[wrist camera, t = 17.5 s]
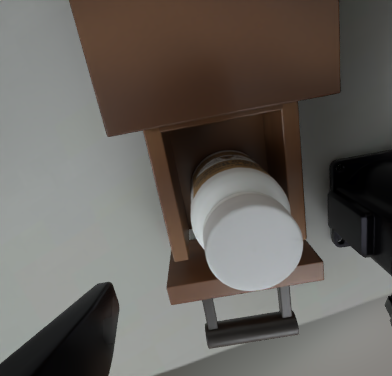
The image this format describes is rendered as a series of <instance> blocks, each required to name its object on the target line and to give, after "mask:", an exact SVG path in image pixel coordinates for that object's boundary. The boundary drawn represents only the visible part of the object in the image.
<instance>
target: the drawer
mask: <svg viewBox="0 0 392 376" xmlns="http://www.w3.org/2000/svg"><path fill="white" fill-rule="evenodd" d="M143 133H144V137H145V141H146V145H147V149H148V154H149V158H150V162H151V166H152V170H153V175H154V179H155V183H156V187H157V191H158V195H159V200H160V204H161V208H162V212H163V216H164V220H165V225H166V229H167V233H168V237H169V241H170V246H171V256H170V264H169V272H168V280H167V291H168V295H169V299H170V303H171V305H175V304H181V303H187V302H193V301H199V300H202V302H203V307H204V311H205V316H206V321H207V323H206V324H205V332H206V339H207V345H208V348H209V349H210V348H217V347H223V346H229V345H236V344H242V343H248V342H254V341H261V340H267V339H273V338H280V337H285V336H292V335H298V334H299V328H298V323H297V320H296V317H295V314H294V312H293V311H292V309H291V298H290V287H289V286H290V285H296V284H302V283H308V282H314V281H320V280H324V268H323V261H322V259H321V258H320V257H319V256H318V254H317V253H316V252H315V251H314V250H313V248H312V247H311V246H310V245H309V243H308V242H307V241H306V240H305V239H306V238H307V236H306V220H305V204H304V189H303V173H302V157H301V141H300V125H299V110H298V101H296V102H291V103H286V104H280V105H275V106H270V107H264V108H259V109H254V110H249V111H243V112H238V113H233V114H227V115H222V116H217V117H212V118H206V119H201V120H196V121H190V122H185V123H180V124H175V125H169V126H164V127H159V128H153V129H148V130H143ZM225 150H234V151H239V152H242V153H244V154H246V155H248V156H249V157H251V158H252V159H253V160H254V161H255V162H256V163H257V164H259V165H260V167H262V168H263V169H264V170H265V171H266V172H267V173H268V174H269V175H270V176H271V177H272V178H274V180H275V181H276V182H277V183H278V184H279V185H280V187H281V188H282V189H283V191H284V192H285V194H286V196H287V199H288V201H289V205H290V211H291V216H292V217H293V218H294V220H295V221H296V223H297V224H298V226H299V228H300V230H301V233H302V238H303V251H302V256H301V259H300V261H299V263H298V265H297V267H296V268H295V270H294V271H293V272H292V273H291V274H290V275H289V276H288V277H287V278H286V279H284V280H283V281H282V282H280V283H279V284H277V285H275V286H273V287H270V288H267V289H272V288H277V290H278V300H279V309H280V311H279V312H273V313H267V314H261V315H254V316H248V317H242V318H236V319H230V320H224V321H217V317H216V312H215V307H214V302H213V298H217V297H223V296H230V295H236V294H242V293H248V292H254V291H243V290H238V289H234V288H231V287H229V286H227V285H225V284H224V283H222V282H221V281H220V280H219V279H218V278H216V276H215V275H214V274H213V273H212V271H211V270H210V268H209V266H208V263H207V260H206V256H205V250H204V249H203V248H202V246H201V245H200V244H199V242H198V241H197V239H193V240H189V229H192V224H191V180H192V176H193V173H194V171H195V169H196V168H197V166H198V165H199V164H200V163H201V161H203V160H204V159H205V158H206V157H208V156H209V155H211V154H213V153H216V152H219V151H225ZM263 290H266V289H263ZM258 291H260V290H258Z"/></svg>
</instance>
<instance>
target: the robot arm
mask: <svg viewBox="0 0 392 376" xmlns="http://www.w3.org/2000/svg"><path fill="white" fill-rule="evenodd" d="M338 165H341V168H340V169H339V170H336V168H337V166H338ZM328 221H329V226H330V227H331V229H332V242H333V243H334V244H335V245H336V246H337V247H347V246H351V247H352V248H354V249H355V250H356V251H357V252H358V253H359V254H360V255H362V256H363V257H365V258H366V257H371V258H372V259H373V260H374V261H375V262H377V263H378V264H379V265H380V266H381V267H382V268H383V269H384V270H386V271H387V272H388V273H389V274H390V275H391V276H392V150H388V151H382V152H377V153H371V154H366V155H360V156H355V157H349V158H344V159H338V160H335V161H333V162H332V163H331V165H330V192H329V193H328ZM341 238H342V240H341V241H339V242H338V240H339V239H341ZM385 307H386V309H387V311H388V313H389V315H390V317H391V319H390V322H391V326H392V295H391V296H388V298H387V300H386V303H385ZM118 315H119V303H118V299H117V296H116V293H115V290H114V287H113V285H112V283H110V282H105V283H99V284H97V285H95V286H94V287H93V288H92V289H91V290H89V291H88V292H87V293H86V294H85V295H83V296H82V297H81V298H80V299H78V300H77V301H76V302H75V303H74V304H72V305H71V306H70V307H69V308H68V309H66V310H65V311H64V312H63V313H61V314H60V315H59V316H58V317H57V318H55V319H54V320H53V321H52V322H51V323H49V324H48V325H47V326H46V327H44V328H43V329H42V330H41V331H40V332H38V333H37V334H36V335H35V336H34V337H32V338H31V339H30V340H29V341H27V342H26V343H25V344H24V345H23V346H21V347H20V348H19V349H18V350H17V351H15V352H14V353H13V354H12V355H10V356H9V357H8V358H7V359H6V360H4V361H3V362H2V363H1V364H0V376H108V375H109V371H110V367H111V362H112V357H113V351H114V344H115V337H116V330H117V322H118Z"/></svg>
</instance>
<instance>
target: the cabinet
mask: <svg viewBox="0 0 392 376" xmlns="http://www.w3.org/2000/svg"><path fill="white" fill-rule="evenodd" d="M69 2H70V6H71V9H72V13H73V16H74V20H75V23H76V27H77V31H78V34H79V38H80V41H81V45H82V48H83V52H84V55H85V59H86V63H87V66H88V70H89V73H90V77H91V80H92V84H93V87H94V91H95V95H96V98H97V102H98V105H99V109H100V112H101V116H102V119H103V123H104V127H105V130H106V134H107V136H108V137H111V136H116V135H122V134H127V133H132V132H138V131H143V130H148V129H153V128H159V127H164V126H169V125H175V124H180V123H185V122H190V121H196V120H201V119H206V118H212V117H217V116H222V115H227V114H233V113H238V112H243V111H249V110H254V109H259V108H264V107H270V106H275V105H280V104H286V103H291V102H296V101H301V100H307V99H312V98H317V97H323V96H328V95H333V94H338V93H340V91H341V84H340V24H339V0H69Z"/></svg>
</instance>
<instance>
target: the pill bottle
mask: <svg viewBox="0 0 392 376" xmlns="http://www.w3.org/2000/svg"><path fill="white" fill-rule="evenodd" d="M191 224H192V229H193V232H194V235H195V237H196V239H197V241H198V242H199V244H200V245H201V246H202V248H203V249H204V250H205V256H206V260H207V263H208V266H209V268H210V270H211V271H212V273H213V274H214V275H215V276H216V278H218V279H219V280H220V281H221V282H222V283H224V284H225V285H227V286H229V287H231V288H234V289H238V290H243V291H258V290H263V289H267V288H270V287H273V286H275V285H277V284H279V283H280V282H282V281H283V280H284V279H286V278H287V277H288V276H289V275H290V274H291V273H292V272H293V271H294V270H295V268H296V267H297V265H298V263H299V261H300V259H301V256H302V251H303V238H302V233H301V230H300V228H299V226H298V224H297V223H296V221H295V220H294V218H293V217H292V216H291V211H290V205H289V201H288V199H287V196H286V194H285V192H284V191H283V189H282V188H281V187H280V185H279V184H278V183H277V182H276V181H275V180H274V178H272V177H271V176H270V175H269V174H268V173H267V172H266V171H265V170H264V169H263V168H262V167H260V165H259V164H257V163H256V162H255V161H254V160H253V159H252V158H251V157H249V156H248V155H246V154H244V153H242V152H239V151H234V150H225V151H219V152H216V153H213V154H211V155H209V156H208V157H206V158H205V159H204V160H203V161H201V163H200V164H199V165H198V166H197V168H196V169H195V171H194V173H193V176H192V180H191Z"/></svg>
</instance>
